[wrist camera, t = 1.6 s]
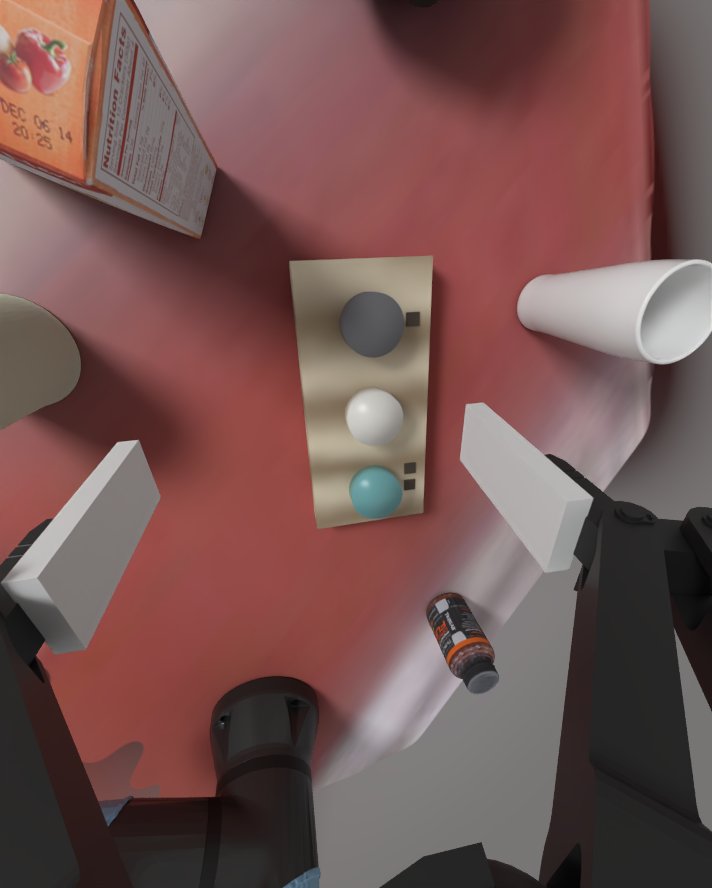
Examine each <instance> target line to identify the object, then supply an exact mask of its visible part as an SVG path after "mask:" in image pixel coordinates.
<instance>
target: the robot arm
mask: <svg viewBox="0 0 712 888" xmlns="http://www.w3.org/2000/svg"><path fill="white" fill-rule="evenodd" d="M460 460H461V462H462V463H463V464H464V466H465V467H466V468H467V470H468V471H469V472H470V474H471V475H472V476H473V478H474V479H475V480H476V482H477V483H478V484H479V486H480V487H481V488H482V489H483V491H484V492H485V493H486V495H487V496H488V497H489V499H490V500H491V501H492V503H493V504H494V505H495V507H496V508H497V509H498V511H499V512H500V513H501V515H502V516H503V517H504V519H505V520H506V521H507V523H508V524H509V525H510V526H511V528H512V529H513V530H514V532H515V533H516V534H517V536H518V537H519V538H520V540H521V541H522V542H523V544H524V545H525V546H526V548H527V549H528V550H529V552H530V553H531V554H532V556H533V557H534V558H535V559H536V561H537V562H538V563H539V565H540V566H541V567H542V569H543V570H544V571H545V573H550V572H555V571H562V570H568V569H569V568H570V565H571V562H572V559H573V556H574V555H575V556H576V557H577V558H578V559H579V561H580V562H581V563H582V564H583V565H582V568H581V571H580V574H579V576H578V579H577V582H576V585H575V587H574V590H575V591H578V593H577V602H576V610H575V618H574V627H573V636H572V645H571V653H570V662H569V670H568V680H567V688H566V696H565V705H564V713H563V722H562V731H561V739H560V748H559V756H558V765H557V773H556V782H555V791H554V799H553V808H552V815H551V822H550V827H549V831H548V835H547V838H546V842H545V846H544V851H543V856H542V862H541V869H540V875H539V881H537V880H536V879H534V878H533V877H532V876H530V875H528V874H527V873H525V872H523V871H521V870H519V869H517V868H515V867H513V866H511V865H508V864H505V863H502V862H499V861H496V860H491V859H487V858H486V855H485V852H484V849H483V846H482V843H477V844H473V845H468V846H464V847H460V848H456V849H452V850H449V851H444V852H440V853H436V854H432V855H428V856H424V857H422V858H421V859H419V860H418V861H417V862H415V863H414V864H412V865H411V866H410V867H408V868H407V869H405V870H404V871H402V872H401V873H400V874H398V875H397V876H395V877H394V878H393V879H391V880H390V881H388V882H387V883H386V884H384V885H383V886H381V887H380V888H712V832H711V831H710V830H709V829H708V828H707V827H706V826H704V825H703V824H702V822H701V820H700V818H699V815H698V810H697V805H696V797H695V789H694V782H693V774H692V766H691V758H690V750H689V743H688V735H687V727H686V719H685V711H684V704H683V696H682V689H681V680H680V672H679V665H678V658H677V649H676V642H675V634H674V628H675V630H676V633H677V635H678V637H679V639H680V641H681V644H682V646H683V648H684V651H685V653H686V655H687V657H688V660H689V662H690V664H691V666H692V668H693V671H694V673H695V675H696V677H697V680H698V682H699V684H700V686H701V688H702V691H703V693H704V695H705V697H706V700H707V702H708V704H709V706H710V708H711V711H712V508H706V507H696V508H693V509H690V510H689V512H688V513H687V515H686V517H685V519H684V521H679V520H667V519H658V518H657V517H656V516H655V515H654V514H653V513H652V512H650V511H649V510H647V509H645V508H643V507H641V506H639V505H636V504H633V503H629V502H623V501H613V500H612V499H611V498H610V497H608V496H607V495H606V494H605V493H604V492H602V491H601V490H600V489H599V488H597V487H596V486H595V485H594V484H593V483H591V482H590V481H589V480H588V479H586V478H584V476H583V475H582V474H580V473H579V472H578V471H575V469H574V468H573V467H572V466H571V465H569V464H568V463H567V462H566V461H564V460H562V459H560V458H558V457H556V456H554V455H552V454H547V455H543V454H542V453H541V452H540V451H539V450H538V449H536V448H535V447H534V446H533V445H532V444H531V443H529V442H528V441H527V440H526V439H525V438H524V437H522V436H521V435H520V434H519V433H518V432H517V431H516V430H514V429H513V428H512V427H511V426H510V425H509V424H507V423H506V422H505V421H504V420H503V419H502V418H501V417H499V416H498V415H497V414H496V413H495V412H494V411H492V410H491V409H490V408H489V407H488V406H487V405H486V404H484V403H474V404H466V409H465V418H464V427H463V436H462V445H461V454H460ZM160 498H161V496H160V494H159V491H158V489H157V486H156V483H155V481H154V478H153V476H152V473H151V470H150V468H149V465H148V463H147V460H146V457H145V455H144V452H143V450H142V447H141V444H140V442H139V440H133V441H124V442H117V443H116V445H115V446H114V447H113V448H112V449H111V451H110V452H109V453H108V454H107V455H106V457H105V458H104V459H103V460H102V461H101V463H100V464H99V465H98V466H97V467H96V469H95V470H94V471H93V472H92V474H91V475H90V476H89V477H88V478H87V480H86V481H85V482H84V483H83V484H82V486H81V487H80V488H79V489H78V490H77V492H76V493H75V494H74V495H73V496H72V498H71V499H70V500H69V501H68V502H67V504H66V505H65V506H64V507H63V508H62V510H61V511H60V512H59V513H58V514H57V516H56V517H55V518H53V519H47V520H45V521H44V522H42V523H41V524H40V525H38V526H37V527H36V528H34V529H33V530H31V531H30V532H29V533H28V534H27V535H26V537H25V538H24V539H23V540H22V541H21V542H20V543H19V545H18V547H16V548H15V549H14V550H13V551H12V552H11V554H10V555H9V558H8V559H5V560H4V562H3V563H2V564H1V565H0V888H319V878H320V868H319V867H318V854H317V843H316V829H315V817H314V806H313V805H314V804H313V792H312V781H311V760H312V755H313V749H314V744H315V739H316V734H317V728H318V723H319V709H318V700H317V696H316V694H315V692H314V691H313V690H312V689H311V688H310V687H309V686H308V685H306V684H305V683H303V682H301V681H298V680H295V679H291V678H285V677H268V678H261V679H256V680H253V681H249V682H246V683H244V684H242V685H239V686H237V687H236V688H234V689H232V690H231V691H229V692H228V693H227V694H225V695H224V696H223V697H222V698H221V699H220V700H219V701H218V703H217V704H216V706H215V707H214V710H213V712H212V718H211V725H210V742H211V748H212V754H213V760H214V766H215V772H216V778H217V787H216V796H215V797H189V798H134V797H133V796H128V797H126V798H125V799H117V800H105V801H98V800H97V798H96V795H95V793H94V790H93V788H92V785H91V783H90V780H89V778H88V775H87V773H86V771H85V768H84V766H83V763H82V761H81V758H80V756H79V753H78V751H77V748H76V746H75V743H74V741H73V739H72V736H71V734H70V731H69V729H68V726H67V724H66V721H65V719H64V716H63V714H62V711H61V709H60V707H59V704H58V702H57V699H56V697H55V694H54V692H53V689H52V687H51V684H50V682H49V679H48V677H47V675H46V672H45V670H44V667H43V665H42V663H41V661H40V660H39V659H38V658H37V656H36V654H37V653H38V651H39V649H40V648H41V646H42V644H43V643H44V641H45V642H46V643H47V645H48V646H49V647H50V649H51V650H52V651H53V653H54V654H61V653H67V652H73V651H79V650H85V649H86V648H87V646H88V644H89V642H90V640H91V638H92V636H93V634H94V632H95V630H96V628H97V626H98V624H99V622H100V620H101V618H102V616H103V614H104V612H105V610H106V608H107V606H108V604H109V602H110V600H111V598H112V596H113V593H114V591H115V589H116V587H117V585H118V583H119V581H120V579H121V577H122V575H123V573H124V571H125V569H126V567H127V565H128V563H129V561H130V559H131V557H132V555H133V553H134V551H135V549H136V547H137V545H138V543H139V541H140V539H141V536H142V534H143V532H144V530H145V528H146V526H147V524H148V522H149V520H150V518H151V516H152V514H153V512H154V510H155V508H156V506H157V504H158V502H159V500H160Z"/></svg>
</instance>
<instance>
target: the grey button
mask: <svg viewBox="0 0 712 888" xmlns="http://www.w3.org/2000/svg"><path fill="white" fill-rule="evenodd" d="M340 331H341V335H342V337H343V339H344V341H345V342H346V344H347V345H348V346H349V347H351V348H352V349H353V350H354V351H355V352H356V353H358V354H360V355H362V356H365V357H370V358H376V357H381V356H384V355H386V354H388V353H389V352H391V351H392V350H393V349H394V348H395V347H396V346H397V345H398V343H399V342H400V340H401V338H402V335H403V332H404V316H403V312H402V310H401V308H400V306H399V304H398V303H397V302H396V301H395V300H394V299H393V298H392V297H390V296H388V295H386V294H384V293H379V292H362V293H359V294H357V295H355V296H354V297H352V298H351V299H350V300H349V301H348V302H347V303H346V304H345V306H344V308H343V310H342V312H341V316H340Z"/></svg>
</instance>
